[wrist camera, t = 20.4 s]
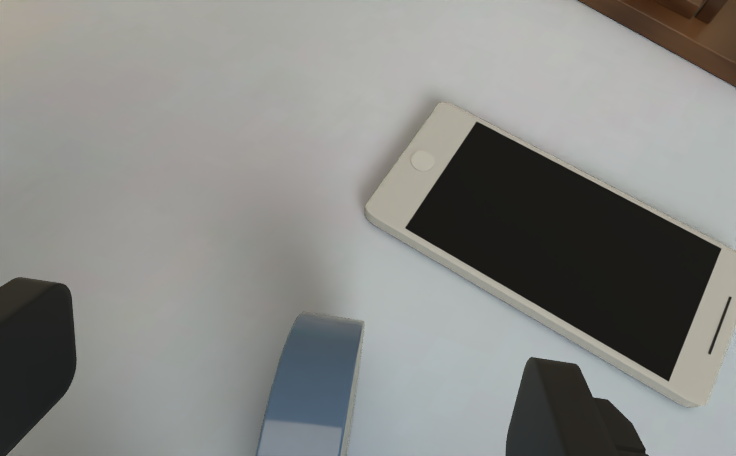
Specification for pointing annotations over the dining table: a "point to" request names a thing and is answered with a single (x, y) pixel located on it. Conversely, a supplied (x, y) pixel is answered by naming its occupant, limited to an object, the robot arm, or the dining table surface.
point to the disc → (314, 388)
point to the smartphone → (565, 251)
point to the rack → (683, 28)
